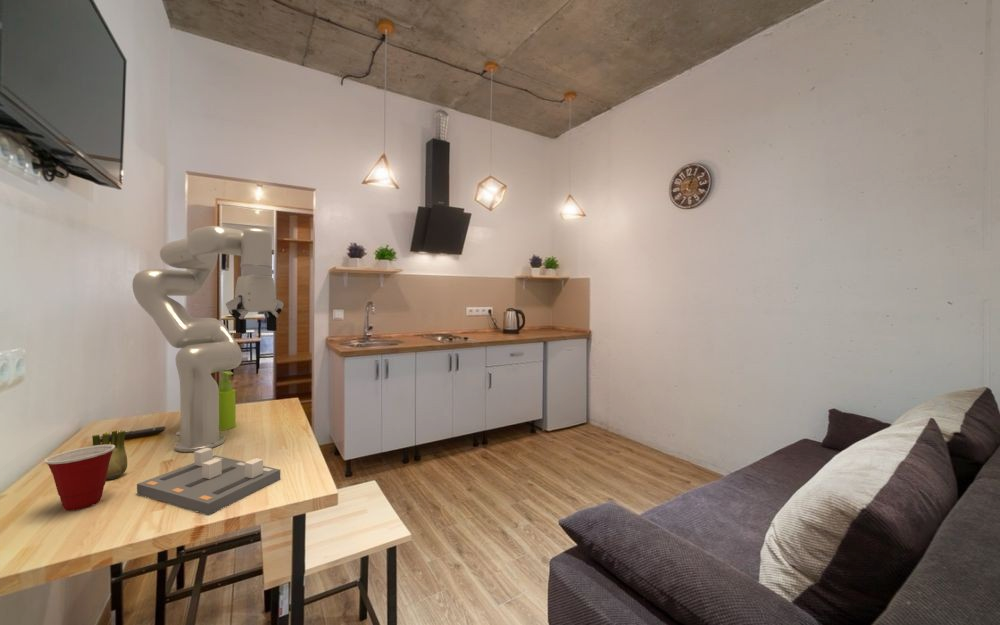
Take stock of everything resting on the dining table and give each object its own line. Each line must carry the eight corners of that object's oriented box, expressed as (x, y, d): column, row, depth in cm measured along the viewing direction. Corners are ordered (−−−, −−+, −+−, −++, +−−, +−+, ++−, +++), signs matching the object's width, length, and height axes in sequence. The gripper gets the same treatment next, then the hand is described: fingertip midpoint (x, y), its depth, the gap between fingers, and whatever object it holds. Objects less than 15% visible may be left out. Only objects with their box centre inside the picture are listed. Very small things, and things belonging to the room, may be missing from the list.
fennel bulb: (89, 482, 97) (88, 434, 97) (105, 473, 102) (104, 428, 101) (117, 480, 98) (116, 433, 98) (131, 472, 103) (130, 427, 103)
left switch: (194, 464, 102) (194, 451, 102) (206, 460, 105) (206, 447, 105) (200, 466, 101) (200, 453, 101) (212, 461, 104) (212, 448, 104)
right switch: (244, 476, 96) (244, 462, 96) (255, 471, 99) (256, 458, 99) (251, 478, 96) (251, 464, 95) (263, 473, 98) (263, 459, 98)
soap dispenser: (221, 432, 134) (221, 374, 133) (212, 428, 138) (211, 371, 137) (240, 427, 139) (240, 371, 138) (230, 423, 143) (230, 369, 142)
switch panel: (137, 494, 92) (136, 483, 92) (214, 464, 109) (214, 454, 109) (208, 515, 84) (208, 503, 84) (280, 479, 101) (280, 469, 101)
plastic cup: (101, 488, 94) (100, 439, 94) (126, 498, 90) (125, 446, 90) (34, 510, 84) (33, 455, 84) (59, 522, 80) (58, 464, 80)
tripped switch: (202, 477, 95) (202, 463, 95) (214, 472, 98) (214, 458, 98) (209, 479, 95) (209, 464, 95) (221, 473, 98) (221, 460, 97)
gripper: (273, 274, 122) (273, 329, 123) (217, 270, 106) (217, 333, 106) (291, 274, 119) (291, 330, 120) (237, 270, 103) (237, 335, 104)
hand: (256, 331), depth 113 cm, fingers open, 9 cm apart
